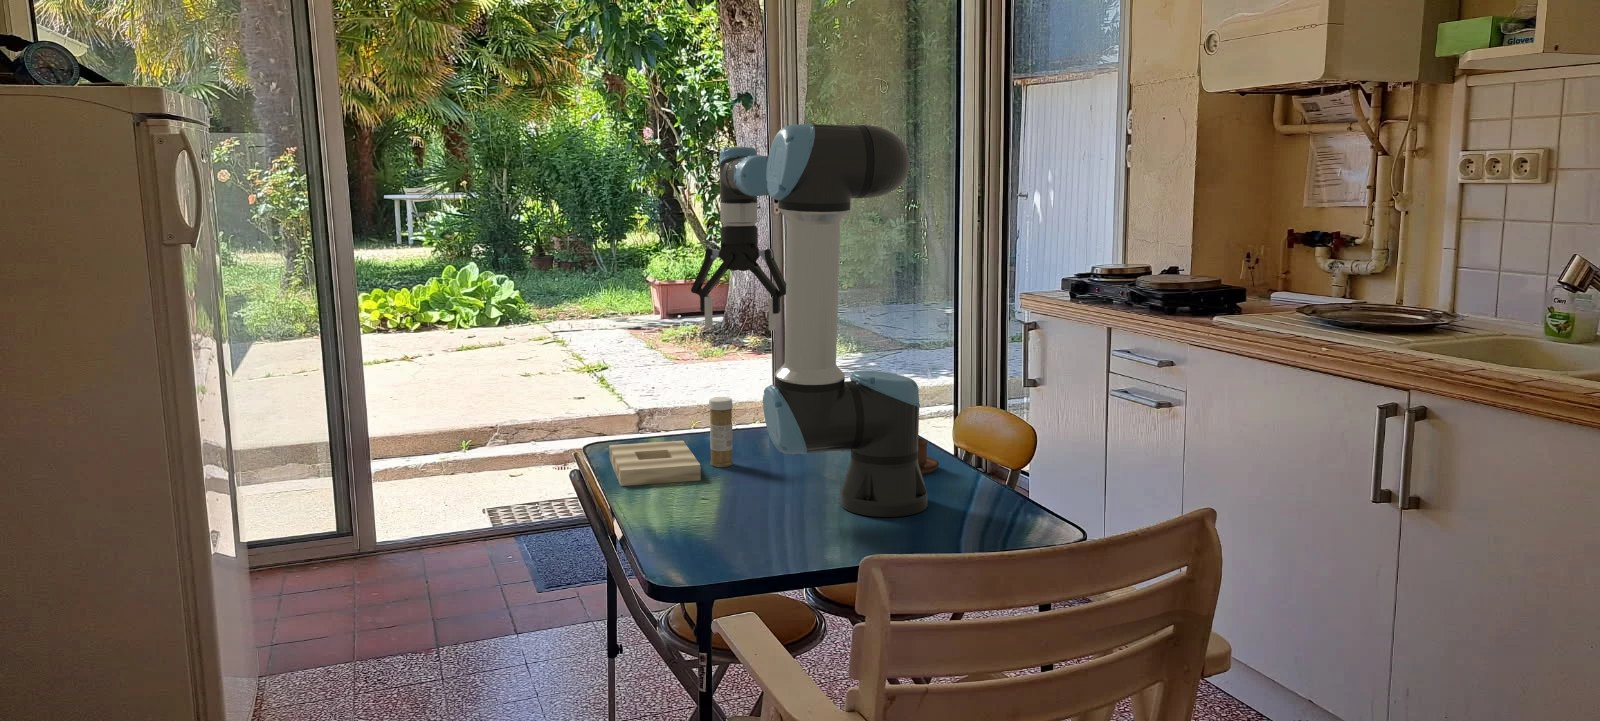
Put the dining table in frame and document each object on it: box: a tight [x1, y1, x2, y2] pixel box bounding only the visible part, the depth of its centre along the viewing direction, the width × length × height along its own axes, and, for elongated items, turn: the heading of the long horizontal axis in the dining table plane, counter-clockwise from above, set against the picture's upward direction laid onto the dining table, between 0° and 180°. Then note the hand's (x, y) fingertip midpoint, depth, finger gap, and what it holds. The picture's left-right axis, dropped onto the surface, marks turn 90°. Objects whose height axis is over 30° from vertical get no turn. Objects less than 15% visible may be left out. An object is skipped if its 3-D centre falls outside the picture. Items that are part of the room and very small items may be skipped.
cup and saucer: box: [918, 437, 940, 476], centre depth 215 cm, size 12×12×6 cm
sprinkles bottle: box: [708, 396, 734, 468], centre depth 219 cm, size 5×5×14 cm
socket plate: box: [608, 440, 702, 487], centre depth 216 cm, size 20×15×3 cm
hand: (740, 328), depth 228 cm, fingers open, 13 cm apart
